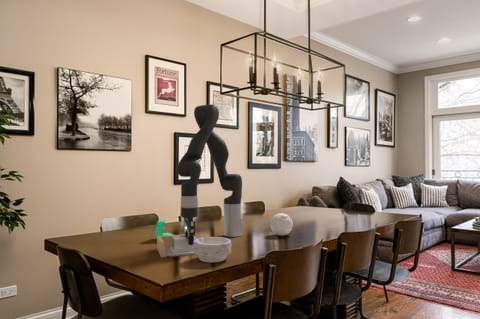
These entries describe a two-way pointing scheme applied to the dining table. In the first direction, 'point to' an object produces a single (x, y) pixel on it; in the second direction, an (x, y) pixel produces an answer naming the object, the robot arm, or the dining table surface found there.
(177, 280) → the dining table surface
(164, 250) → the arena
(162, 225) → the camera mount
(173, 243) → the aluminium bracket
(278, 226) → the decorative ball
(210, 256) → the white marbled bowl
